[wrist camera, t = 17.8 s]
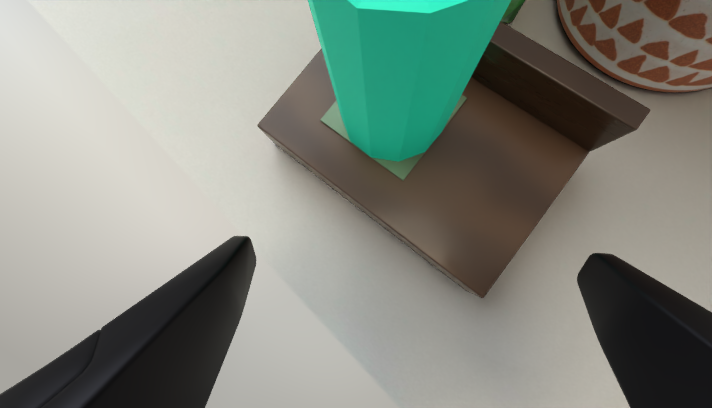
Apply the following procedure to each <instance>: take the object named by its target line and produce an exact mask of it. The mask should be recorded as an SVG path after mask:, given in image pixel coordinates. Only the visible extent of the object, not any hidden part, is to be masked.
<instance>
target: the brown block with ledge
mask: <svg viewBox="0 0 712 408" xmlns="http://www.w3.org/2000/svg"><path fill="white" fill-rule="evenodd" d="M649 112H650V109H648V108H647V107H645V106H643V105H642V104H640V103H638V102H636V101H635V100H633V99H631V98H630V97H628V96H626V95H625V94H623V93H621V92H619V91H618V90H616V89H614V88H613V87H611V86H609V85H608V84H606V83H604V82H602V81H601V80H599V79H597V78H596V77H594V76H592V75H591V74H589V73H587V72H585V71H584V70H582V69H580V68H579V67H577V66H575V65H574V64H572V63H570V62H568V61H567V60H565V59H563V58H562V57H560V56H558V55H557V54H555V53H553V52H551V51H550V50H548V49H546V48H545V47H543V46H541V45H540V44H538V43H536V42H534V41H533V40H531V39H529V38H528V37H526V36H524V35H523V34H521V33H519V32H517V31H516V30H514V29H512V28H511V27H509V26H507V25H506V24H504V23H502V22H500V23H499V25H498V26H497V28H496V30H495V32H494V34H493V36H492V38H491V40H490V42H489V44H488V45H487V47H486V49H485V51H484V53H483V55H482V57H481V59H480V61H479V63H478V64H477V66H476V68H475V70H474V72H473V74H472V76H471V78H470V80H469V82H468V83H467V85H466V87H465V89H464V91H463V93H462V95H461V97H460V99H459V101H458V102H457V104H456V106H455V108H454V110H453V112H452V114H451V116H450V118H449V120H448V121H447V123H446V125H445V127H444V129H443V131H442V132H441V133H440V135H439V136H438V137H437V138H436V139H435V141H434V142H433V143H432V144H431V145H430V146H429V148H428V149H427V150H426V151H425V152H423V153H421V154H418V155H415V156H412V157H410V158H407V159H404V160H402V161H399V162H398V161H391V160H385V159H378V158H372V157H370V156H369V155H367V154H366V153H365V152H364V151H362V150H361V149H360V148H359V147H357V146H356V145H355V144H354V143H352V142H351V141H350V139H349V136H348V134H347V131H346V128H345V125H344V123H343V120H342V117H341V114H340V110H339V107H338V103H337V100H336V96H335V93H334V89H333V86H332V82H331V79H330V76H329V72H328V69H327V65H326V62H325V58H324V55H323V51H322V48H321V50H320V51H319V52H318V53H317V54H316V56H315V57H314V58H313V59H312V60H311V62H310V63H309V64H308V65H307V66H306V68H305V69H304V70H303V71H302V72H301V74H300V75H299V76H298V77H297V78H296V80H295V81H294V82H293V83H292V84H291V86H290V87H289V88H288V89H287V90H286V92H285V93H284V94H283V95H282V96H281V97H280V99H279V100H278V101H277V102H276V103H275V105H274V106H273V107H272V108H271V109H270V111H269V112H268V113H267V114H266V115H265V117H264V118H263V119H262V120H261V121H260V123H259V124H258V127H259V128H260V129H261V130H262V131H263V132H264V133H265V134H266V135H267V136H268V137H269V138H270V139H271V140H272V141H273V142H274V143H275V144H276V145H277V146H279V147H280V148H281V149H283V150H284V151H285V152H286V153H288V154H289V155H290V156H292V157H293V158H294V159H296V160H297V161H298V162H299V163H301V164H302V165H303V166H305V167H306V168H307V169H309V170H310V171H311V172H312V173H314V174H315V175H316V176H318V177H319V178H320V179H322V180H323V181H324V182H325V183H327V184H328V185H329V186H331V187H332V188H333V189H335V190H336V191H337V192H338V193H340V194H341V195H342V196H344V197H345V198H346V199H348V200H349V201H350V202H352V203H353V204H354V205H355V206H357V207H358V208H359V209H361V210H362V211H363V212H365V213H366V214H367V215H368V216H370V217H371V218H372V219H374V220H375V221H376V222H378V223H379V224H380V225H381V226H383V227H384V228H385V229H387V230H388V231H389V232H391V233H392V234H393V235H394V236H396V237H397V238H398V239H400V240H401V241H402V242H404V243H405V244H406V245H407V246H409V247H410V248H411V249H413V250H414V251H415V252H417V253H418V254H419V255H420V256H422V257H423V258H424V259H426V260H427V261H428V262H430V263H431V264H432V265H433V266H435V267H436V268H437V269H439V270H440V271H441V272H443V273H444V274H445V275H446V276H448V277H449V278H450V279H452V280H453V281H454V282H456V283H457V284H458V285H459V286H461V287H462V288H463V289H465V290H466V291H468V292H470V293H472V294H475V295H477V296H479V297H481V298H484V296H485V295H486V294H487V292H488V291H489V290H490V288H491V287H492V285H493V284H494V283H495V281H496V280H497V279H498V277H499V276H500V274H501V273H502V272H503V270H504V269H505V267H506V266H507V265H508V263H509V262H510V261H511V259H512V258H513V256H514V255H515V254H516V252H517V251H518V250H519V248H520V247H521V245H522V244H523V243H524V241H525V240H526V239H527V237H528V236H529V234H530V233H531V232H532V230H533V229H534V227H535V226H536V225H537V223H538V222H539V221H540V219H541V218H542V216H543V215H544V214H545V212H546V211H547V210H548V208H549V207H550V205H551V204H552V203H553V201H554V200H555V199H556V197H557V196H558V194H559V193H560V192H561V190H562V189H563V187H564V186H565V185H566V183H567V182H568V181H569V179H570V178H571V176H572V175H573V174H574V172H575V171H576V170H577V168H578V167H579V165H580V164H581V163H582V161H583V160H584V159H585V157H586V156H587V154H588V153H589V152H590V151H592V150H594V149H597V148H599V147H601V146H603V145H605V144H607V143H609V142H611V141H614V140H616V139H618V138H620V137H622V136H624V135H626V134H629V133H631V132H633V131H635V130H637V128H638V127H639V126H640V124H641V123H642V121H643V120H644V119H645V117H646V116H647V114H648V113H649Z"/></svg>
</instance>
